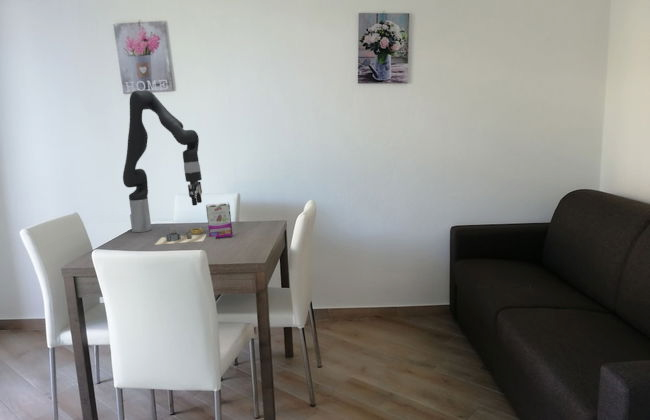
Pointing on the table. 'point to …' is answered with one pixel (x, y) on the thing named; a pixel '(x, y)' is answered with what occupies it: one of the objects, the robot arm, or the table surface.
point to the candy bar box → (219, 220)
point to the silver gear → (173, 237)
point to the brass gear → (196, 230)
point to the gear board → (182, 237)
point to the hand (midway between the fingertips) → (197, 203)
